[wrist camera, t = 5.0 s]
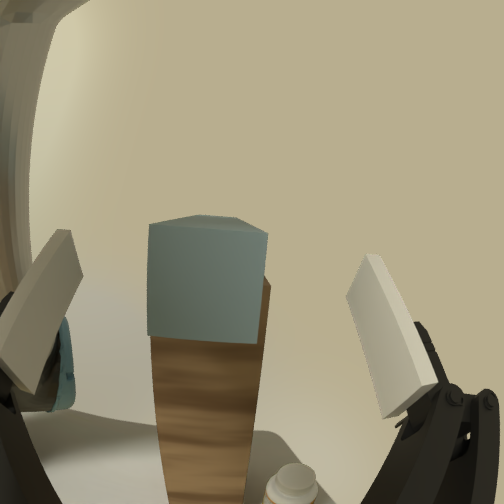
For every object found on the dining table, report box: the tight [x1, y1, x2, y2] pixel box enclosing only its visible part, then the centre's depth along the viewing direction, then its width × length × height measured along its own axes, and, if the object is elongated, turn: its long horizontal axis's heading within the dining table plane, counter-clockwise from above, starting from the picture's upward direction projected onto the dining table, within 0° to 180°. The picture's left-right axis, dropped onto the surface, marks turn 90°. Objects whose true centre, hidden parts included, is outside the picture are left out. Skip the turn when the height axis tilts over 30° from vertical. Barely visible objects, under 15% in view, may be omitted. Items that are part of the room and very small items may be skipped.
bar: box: [147, 215, 268, 344], centre depth 21 cm, size 22×4×4 cm, turn 6°
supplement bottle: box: [262, 463, 318, 504], centre depth 23 cm, size 6×6×10 cm
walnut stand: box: [150, 276, 271, 504], centre depth 26 cm, size 10×8×30 cm
